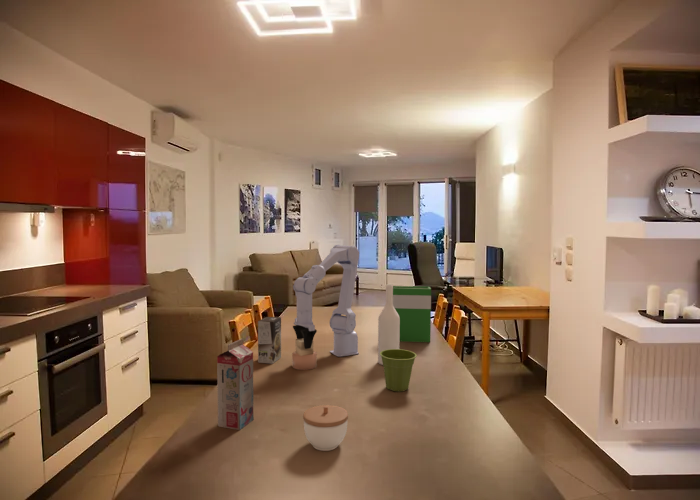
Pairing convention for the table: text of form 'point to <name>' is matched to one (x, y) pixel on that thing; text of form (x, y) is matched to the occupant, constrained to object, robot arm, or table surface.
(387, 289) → the bottle
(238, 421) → the juice carton
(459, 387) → the table surface
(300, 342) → the maple cube
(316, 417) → the lidded jar
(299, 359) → the salmon pink cylinder
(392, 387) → the plant pot
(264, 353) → the coffee box
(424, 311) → the hardback book
